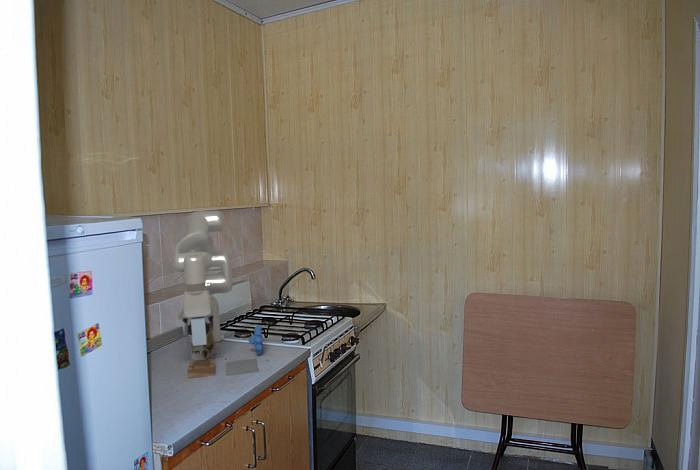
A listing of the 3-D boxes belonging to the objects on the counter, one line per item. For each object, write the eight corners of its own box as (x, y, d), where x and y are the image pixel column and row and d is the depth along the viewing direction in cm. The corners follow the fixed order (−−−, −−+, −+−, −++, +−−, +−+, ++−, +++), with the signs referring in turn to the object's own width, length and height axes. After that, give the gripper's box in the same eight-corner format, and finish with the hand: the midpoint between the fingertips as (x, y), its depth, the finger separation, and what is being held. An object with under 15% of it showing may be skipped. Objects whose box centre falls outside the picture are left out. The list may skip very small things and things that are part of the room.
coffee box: (205, 360, 198) (202, 322, 197) (191, 360, 200) (188, 322, 198) (216, 352, 207) (213, 316, 206) (202, 352, 209) (199, 316, 207)
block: (193, 341, 186) (191, 316, 185) (207, 340, 187) (205, 315, 186) (192, 345, 181) (190, 320, 180) (206, 344, 183) (204, 318, 182)
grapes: (249, 350, 209) (247, 323, 208) (264, 348, 210) (263, 321, 209) (249, 359, 198) (247, 330, 197) (265, 357, 199) (263, 329, 198)
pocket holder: (189, 369, 189) (189, 362, 188) (215, 366, 191) (214, 359, 191) (188, 378, 179) (187, 370, 179) (214, 375, 182) (214, 367, 181)
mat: (225, 363, 194) (225, 362, 194) (255, 359, 197) (255, 358, 197) (225, 375, 181) (225, 374, 181) (258, 371, 184) (258, 370, 184)
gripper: (219, 283, 188) (222, 328, 190) (173, 287, 184) (176, 333, 185) (218, 287, 181) (222, 333, 183) (171, 291, 176) (175, 339, 178)
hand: (199, 333), depth 184 cm, fingers closed on block, 5 cm apart
